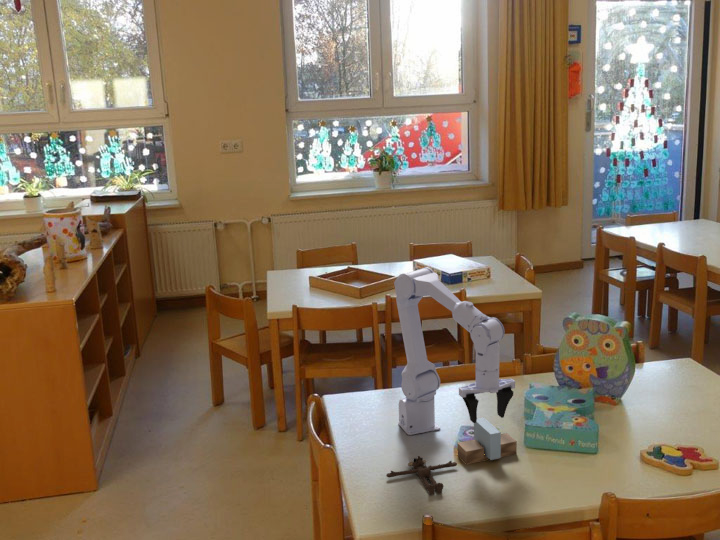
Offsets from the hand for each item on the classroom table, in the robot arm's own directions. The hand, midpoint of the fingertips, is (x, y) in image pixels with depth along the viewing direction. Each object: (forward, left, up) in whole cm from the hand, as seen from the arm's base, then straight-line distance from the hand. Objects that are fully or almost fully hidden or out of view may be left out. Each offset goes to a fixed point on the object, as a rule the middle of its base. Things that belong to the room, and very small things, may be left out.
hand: (487, 418), depth 189 cm
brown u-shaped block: (0, 0, -10) cm, 10 cm away
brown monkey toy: (-19, -5, -11) cm, 22 cm away
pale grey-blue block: (0, 0, -9) cm, 9 cm away
